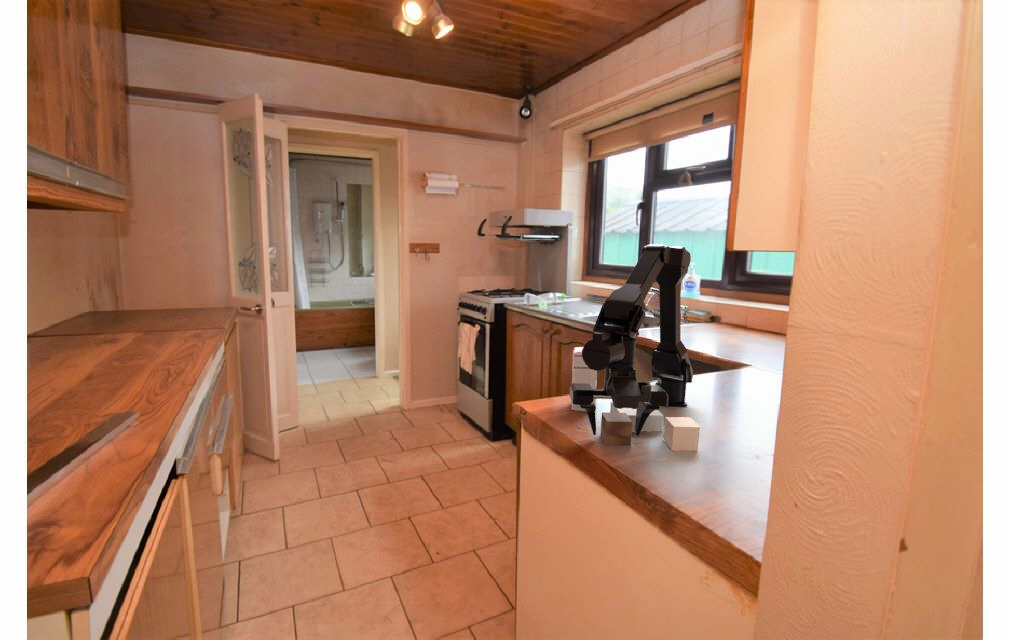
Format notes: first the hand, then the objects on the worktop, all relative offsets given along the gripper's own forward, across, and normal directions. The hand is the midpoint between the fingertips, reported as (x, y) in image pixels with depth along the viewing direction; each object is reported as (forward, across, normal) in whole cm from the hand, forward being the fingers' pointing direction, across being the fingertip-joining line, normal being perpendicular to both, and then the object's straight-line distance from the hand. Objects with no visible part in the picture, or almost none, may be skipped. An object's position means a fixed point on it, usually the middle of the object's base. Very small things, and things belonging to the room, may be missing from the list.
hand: (615, 435), depth 95 cm
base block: (+1, +6, +9) cm, 11 cm away
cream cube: (+1, +12, -2) cm, 13 cm away
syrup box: (+1, -4, +19) cm, 19 cm away
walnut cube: (+1, 0, 0) cm, 1 cm away
